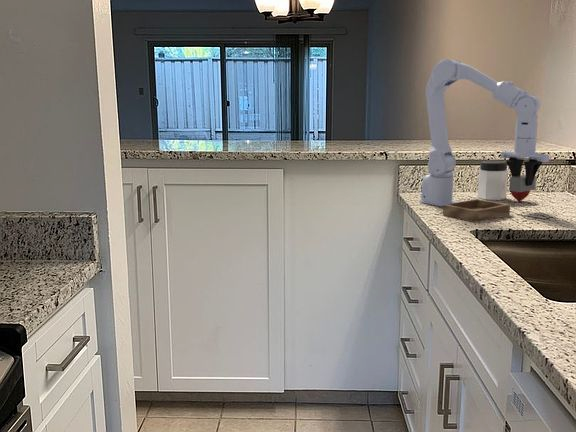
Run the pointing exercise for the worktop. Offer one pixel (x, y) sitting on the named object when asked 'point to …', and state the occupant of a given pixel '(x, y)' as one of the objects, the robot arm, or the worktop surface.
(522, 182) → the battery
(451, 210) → the wooden tray
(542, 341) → the worktop surface
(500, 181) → the jar
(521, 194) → the onion
